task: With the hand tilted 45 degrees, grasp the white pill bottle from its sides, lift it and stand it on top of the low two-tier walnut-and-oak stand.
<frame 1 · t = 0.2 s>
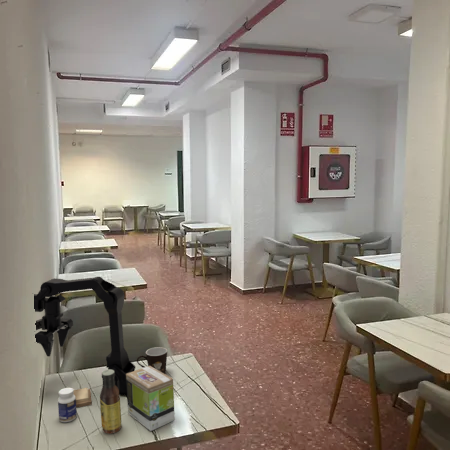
hand: (55, 351, 169), 15 cm above the table, tool pointing down, fingers open, 9 cm apart
pill bottle: (68, 418, 149), on the table
stand: (77, 400, 160), on the table
tea box: (151, 417, 148), on the table
sauce bottle: (112, 430, 141), on the table
coffee mug: (154, 374, 179), on the table
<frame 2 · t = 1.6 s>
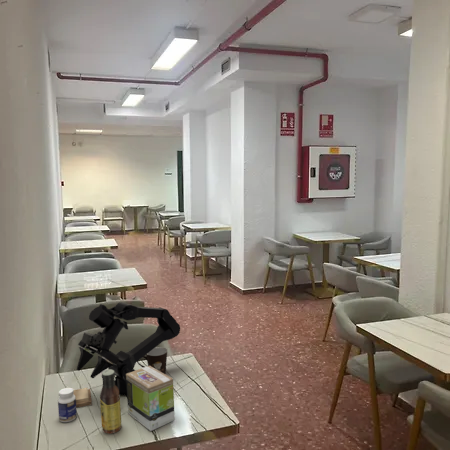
hand: (84, 373, 152), 13 cm above the table, tool tilted 45°, fingers open, 9 cm apart
nothing on the table moved.
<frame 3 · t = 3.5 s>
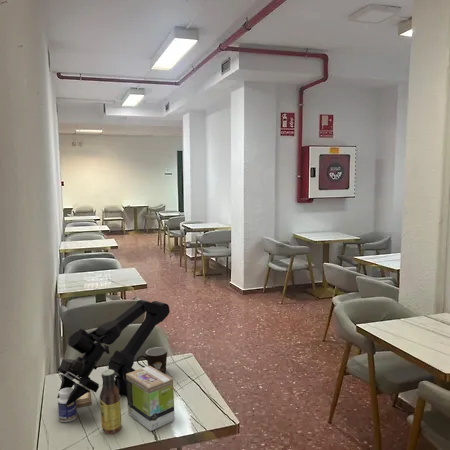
hand: (62, 401, 147), 7 cm above the table, tool tilted 45°, fingers closed on pill bottle, 6 cm apart
pill bottle: (68, 418, 149), on the table, touching gripper
everything else where it was.
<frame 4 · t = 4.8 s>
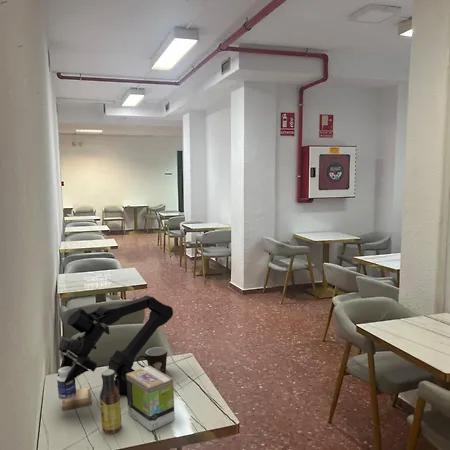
hand: (62, 379, 148), 13 cm above the table, tool tilted 45°, fingers closed on pill bottle, 6 cm apart
pill bottle: (67, 397, 150), point 6 cm above the table, touching gripper
everything else where it was.
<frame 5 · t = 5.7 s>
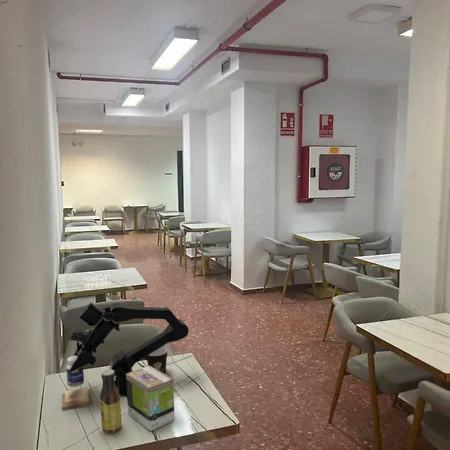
hand: (70, 367, 158), 13 cm above the table, tool tilted 45°, fingers closed on pill bottle, 6 cm apart
pill bottle: (76, 384, 159), point 6 cm above the table, touching gripper
everything else where it was.
when the fingers open (13 cm above the table, at t = 6.2 s): pill bottle drops 4 cm, resting on stand.
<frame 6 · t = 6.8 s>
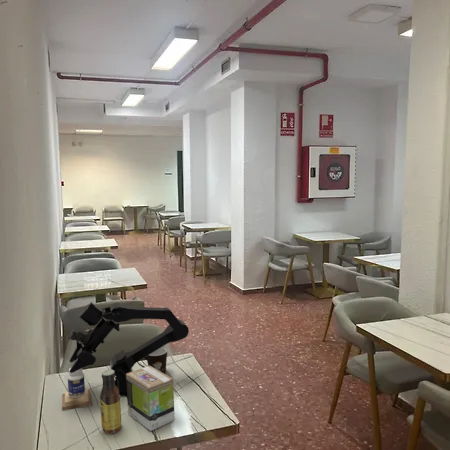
hand: (70, 366, 158), 13 cm above the table, tool tilted 45°, fingers open, 9 cm apart
pill bottle: (77, 395, 160), point 2 cm above the table, touching stand
everything else where it was.
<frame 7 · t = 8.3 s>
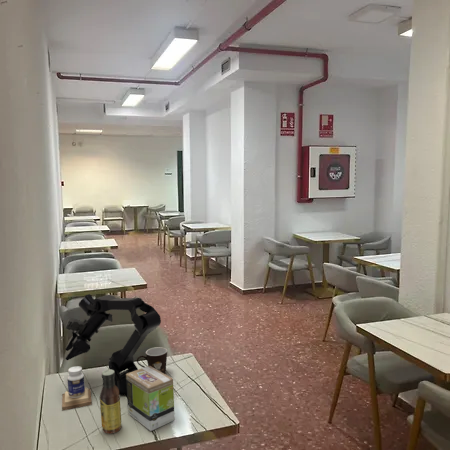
hand: (66, 354, 168), 14 cm above the table, tool tilted 45°, fingers open, 9 cm apart
nothing on the table moved.
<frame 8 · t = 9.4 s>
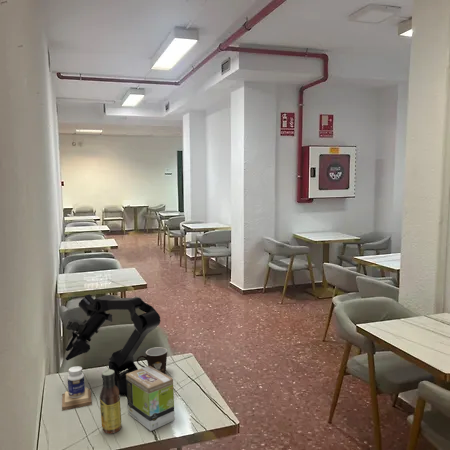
hand: (66, 354, 168), 14 cm above the table, tool tilted 45°, fingers open, 9 cm apart
nothing on the table moved.
at the end: pill bottle inside the target area on the stand (0.2 cm from its centre), point 2.2 cm above the stand's base; pill bottle tilted 0°; the gripper is holding nothing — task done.
